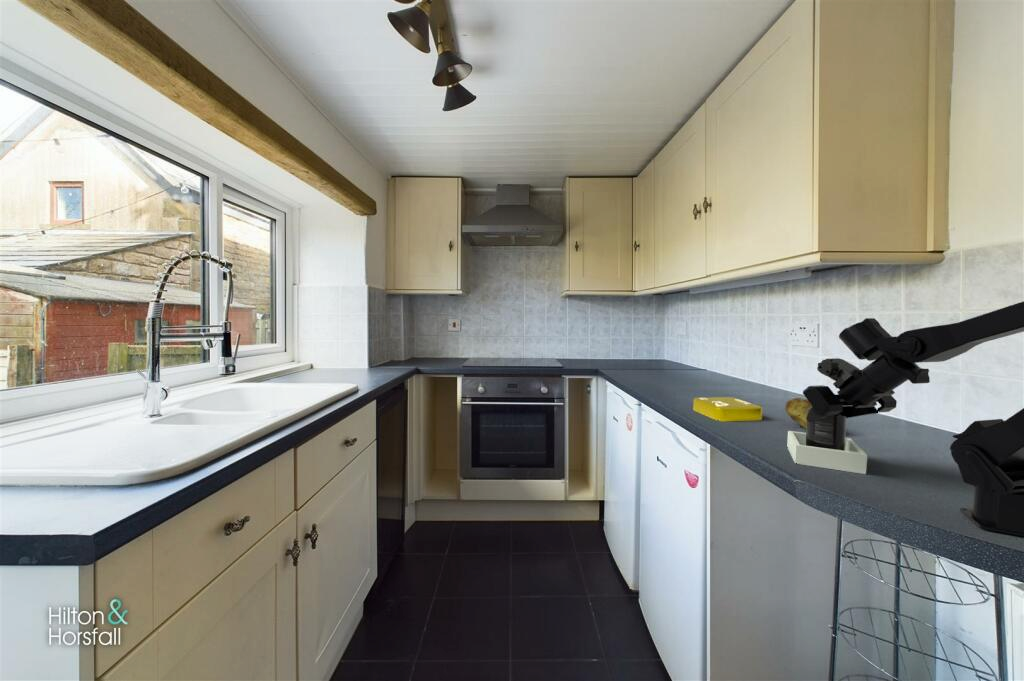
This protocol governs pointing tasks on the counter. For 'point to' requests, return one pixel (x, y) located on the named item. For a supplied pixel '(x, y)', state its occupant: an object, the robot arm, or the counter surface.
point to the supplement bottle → (827, 432)
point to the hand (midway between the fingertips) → (820, 419)
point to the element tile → (727, 409)
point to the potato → (798, 410)
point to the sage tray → (827, 454)
